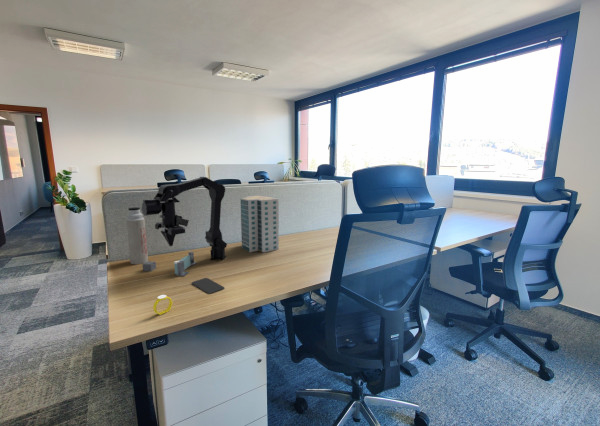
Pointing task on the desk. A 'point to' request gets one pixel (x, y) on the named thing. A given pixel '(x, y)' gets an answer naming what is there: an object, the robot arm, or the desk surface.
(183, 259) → the light blue bar
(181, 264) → the grey block
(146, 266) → the dark gray cube
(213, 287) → the phone
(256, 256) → the desk surface
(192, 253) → the post
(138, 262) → the thermos bottle
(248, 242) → the building model
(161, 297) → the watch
